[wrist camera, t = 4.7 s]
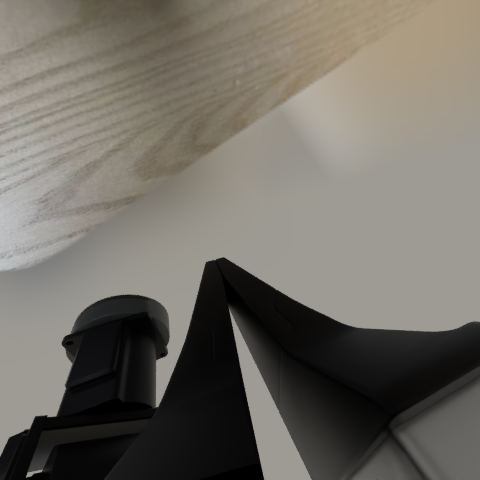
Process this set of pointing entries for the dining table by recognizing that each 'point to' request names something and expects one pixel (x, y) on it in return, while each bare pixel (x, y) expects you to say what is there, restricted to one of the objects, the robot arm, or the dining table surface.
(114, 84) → the dining table surface
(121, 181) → the dining table surface
